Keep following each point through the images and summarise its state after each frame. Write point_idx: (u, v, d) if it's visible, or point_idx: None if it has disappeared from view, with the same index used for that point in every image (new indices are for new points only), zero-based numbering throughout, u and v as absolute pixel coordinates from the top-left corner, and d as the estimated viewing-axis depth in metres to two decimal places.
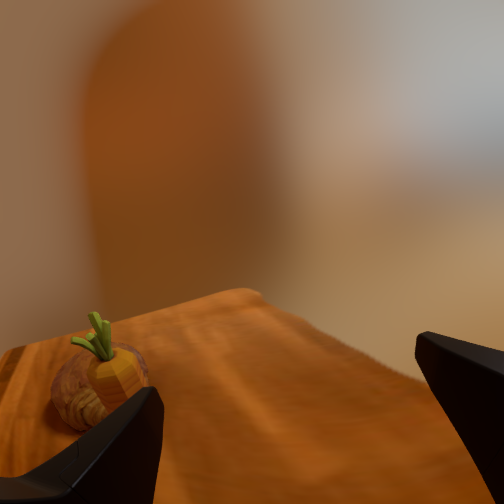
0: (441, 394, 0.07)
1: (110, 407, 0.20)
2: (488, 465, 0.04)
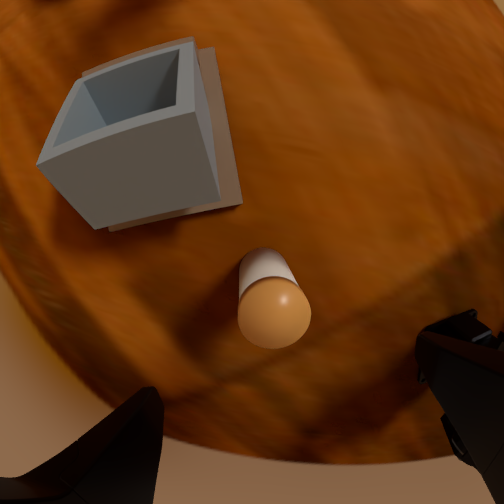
0: (441, 394, 0.07)
1: None
2: (489, 465, 0.04)
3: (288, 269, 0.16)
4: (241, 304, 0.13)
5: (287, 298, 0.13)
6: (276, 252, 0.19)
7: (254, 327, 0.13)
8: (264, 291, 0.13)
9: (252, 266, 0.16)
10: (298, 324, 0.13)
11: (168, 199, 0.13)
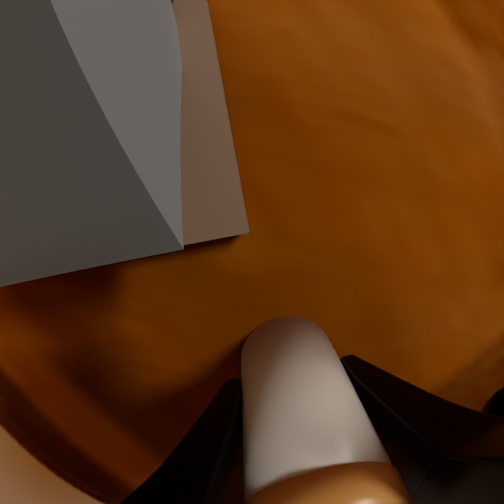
0: None
1: None
2: None
3: (351, 387, 0.07)
4: None
5: None
6: (315, 327, 0.09)
7: None
8: None
9: (273, 390, 0.06)
10: None
11: (26, 250, 0.03)
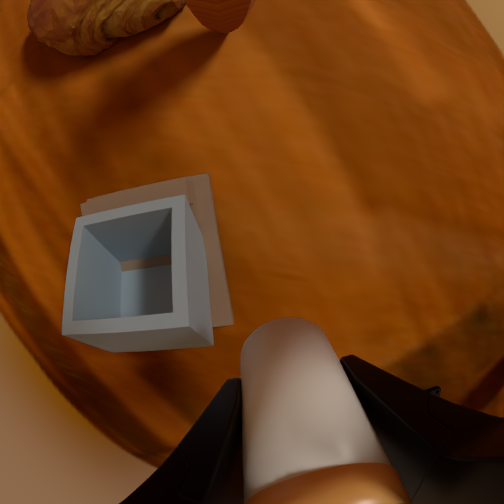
0: None
1: None
2: None
3: (351, 388, 0.07)
4: None
5: None
6: (314, 328, 0.09)
7: None
8: None
9: (273, 391, 0.06)
10: None
11: (171, 346, 0.16)
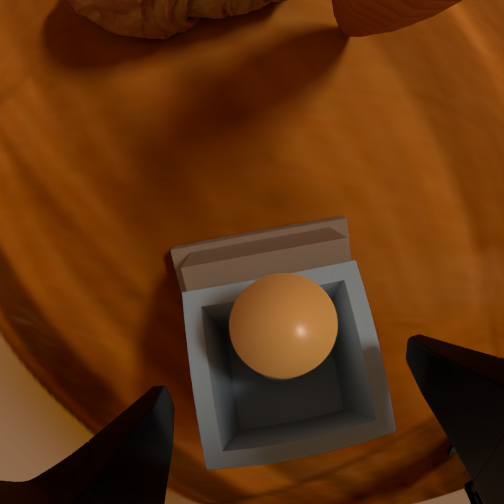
0: (432, 398, 0.07)
1: (413, 1, 0.06)
2: (479, 471, 0.04)
3: None
4: (235, 302, 0.09)
5: (300, 293, 0.09)
6: None
7: (253, 338, 0.09)
8: (267, 283, 0.09)
9: None
10: (320, 335, 0.08)
11: None
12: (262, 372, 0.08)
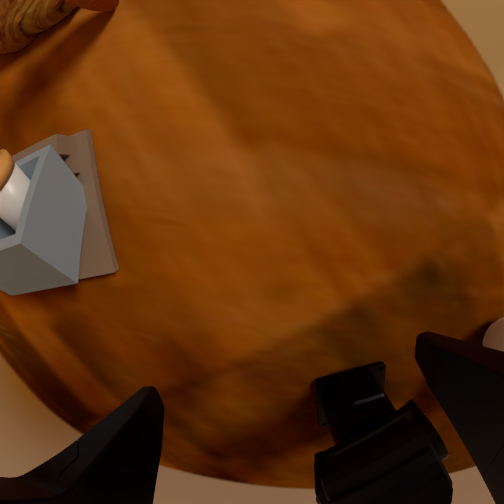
0: (441, 394, 0.07)
1: None
2: (489, 465, 0.04)
3: None
4: None
5: None
6: None
7: None
8: None
9: None
10: None
11: (43, 283, 0.15)
12: None
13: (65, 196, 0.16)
